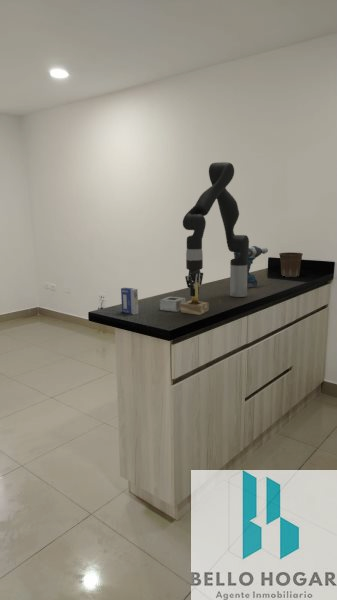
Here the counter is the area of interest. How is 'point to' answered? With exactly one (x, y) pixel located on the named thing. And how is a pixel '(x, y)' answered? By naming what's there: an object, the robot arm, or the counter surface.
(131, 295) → the walkman
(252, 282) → the impact wrench
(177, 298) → the socket block
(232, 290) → the robot arm
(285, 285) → the counter surface
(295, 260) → the plant pot
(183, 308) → the rack block
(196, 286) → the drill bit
